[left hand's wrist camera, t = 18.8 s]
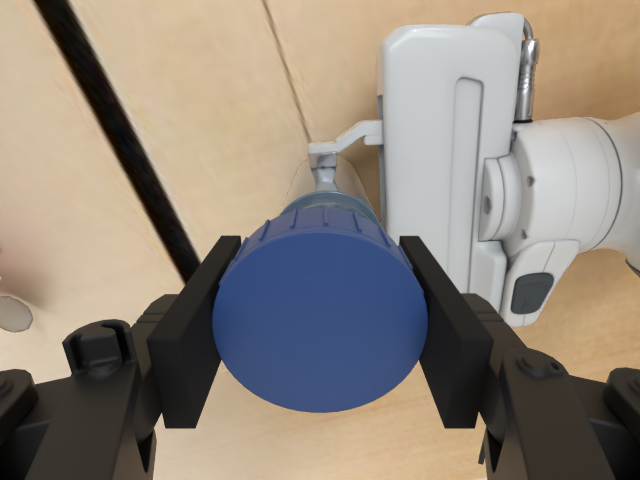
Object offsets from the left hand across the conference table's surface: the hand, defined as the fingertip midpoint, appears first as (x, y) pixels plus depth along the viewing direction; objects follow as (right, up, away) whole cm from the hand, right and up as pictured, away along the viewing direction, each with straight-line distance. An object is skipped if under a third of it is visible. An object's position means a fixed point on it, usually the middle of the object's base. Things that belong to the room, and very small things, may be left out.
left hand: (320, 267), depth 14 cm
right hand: (0, +3, +9) cm, 10 cm away
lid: (0, -1, -4) cm, 4 cm away
